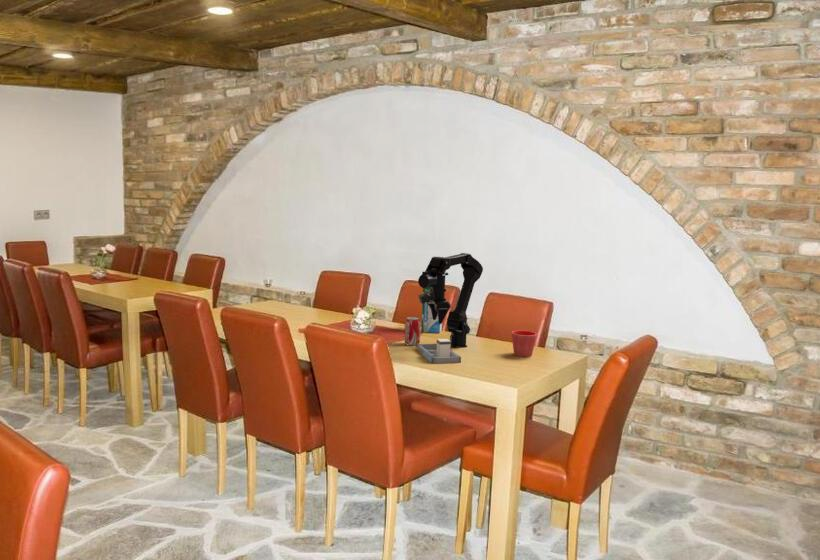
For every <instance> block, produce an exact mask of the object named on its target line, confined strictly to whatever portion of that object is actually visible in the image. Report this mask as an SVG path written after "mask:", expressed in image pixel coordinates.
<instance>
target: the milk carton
mask: <svg viewBox="0 0 820 560" xmlns="http://www.w3.org/2000/svg"><path fill="white" fill-rule="evenodd" d="M430 288H432V287H428V288H422V294H423V293H426V292H429V291H430ZM421 307H422V308H421V330H420V333H427V334H428V333H429V334H430V333H431V334H440V333H441V331H442V330H443V328H442V327H443V323H442V324H439V321H438V315H437V317H436V320H433V317H432V313H431V308H430V307H429V306H428V305H427V303H424V304H422V303H421Z"/></svg>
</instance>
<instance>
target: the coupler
mask: <svg viewBox="0 0 820 560" xmlns="http://www.w3.org/2000/svg"><path fill="white" fill-rule="evenodd" d="M436 344H437V349H436V350H437V355H436V356H435V357H450V349H451V345H450V344H451V341H450V339H448V338H437V339H436Z"/></svg>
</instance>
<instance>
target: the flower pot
mask: <svg viewBox="0 0 820 560" xmlns="http://www.w3.org/2000/svg"><path fill="white" fill-rule="evenodd" d="M511 338H512V339H511V340H512V349H513V350H512V351H513V355H515V356H518V357H523V356H526V357H527V356H529V357H532V356H533V352H534V348H535V344H536V339H537V333H536V332H533V331H530V330H512V331H511ZM527 358H528V357H527Z"/></svg>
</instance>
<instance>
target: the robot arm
mask: <svg viewBox="0 0 820 560" xmlns="http://www.w3.org/2000/svg"><path fill="white" fill-rule="evenodd" d="M457 265H460V267H461V269H462V277H463V283H462V286H461V289H460V292H459V295H458V299H457V302H456V305H455V308H454V309H453V311H452V310H451V311H450V309H451V307H452V306H451V303H450V302H449V301H448V300H447V299H446V298H445V297H446V296H445V295H446V294H445V292H447V288H446V276H449V273H448V271H447V270H449V269H450V268H451V267H453V266H457ZM483 270H484V268H483V265H482V264H481V262H480V261H478V260H477V259H476V258H475V257H473V256H472V254H470V253H466V252H461V253H459V254H454V255H450V256H445V257H444V256H432V257H431V259H430V260H429V263H428V265H427V267H426V269H425V270H424V271H422V273H421V275H420V276H419V277H418V279H417V280H418V282H417V283H418V285H419V287H420V288H421V289H423V288H428V287H432V288H430V291H429V292H426V293H423V292H422V293H421V294H418V296H417V297H418V300H419V303H421V305H422V304H424V303H427V305H428V306H429V307H430V308H431V313H432V317H433V320H436V317H437V315H438V321H439V324H442V325H443V322H444V319H445V318H446V316H447V314H448V316H447V318H446V326H447V332H449V333H450V335H449V340H450V341H451V344H450V347H453V348H467V347H468V345H467V335H469V334H470V332H471V327H470V326H469V325H468V316H467V310H468V306H469V302H470V299H471V296H472V293H473V290H474V287H475V284H476V282H477V281H478V280H480V278H481V276H482V274H483Z"/></svg>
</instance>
